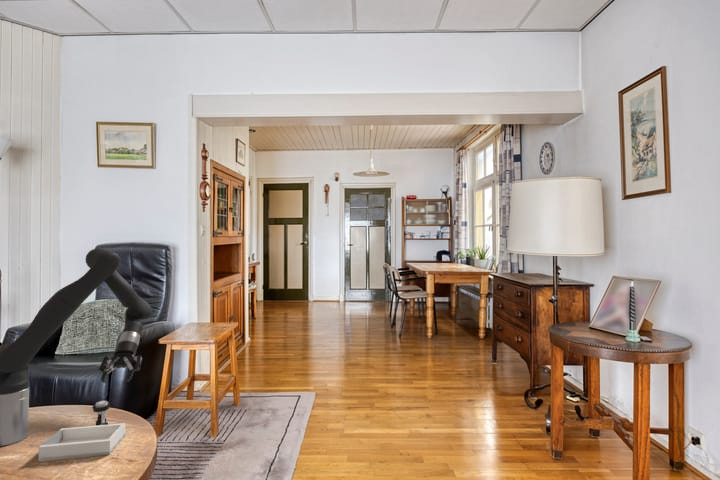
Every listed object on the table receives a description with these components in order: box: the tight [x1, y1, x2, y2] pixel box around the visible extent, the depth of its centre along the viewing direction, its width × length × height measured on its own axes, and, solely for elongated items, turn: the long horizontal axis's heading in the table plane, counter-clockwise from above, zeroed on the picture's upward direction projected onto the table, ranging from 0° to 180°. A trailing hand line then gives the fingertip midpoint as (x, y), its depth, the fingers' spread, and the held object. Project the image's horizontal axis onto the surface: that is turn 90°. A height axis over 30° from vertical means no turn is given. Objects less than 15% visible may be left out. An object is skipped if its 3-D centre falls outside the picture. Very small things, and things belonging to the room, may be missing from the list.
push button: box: [92, 400, 111, 426], centre depth 135 cm, size 7×5×10 cm
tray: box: [37, 422, 126, 462], centre depth 123 cm, size 20×12×4 cm, turn 102°
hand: (115, 381), depth 146 cm, fingers open, 8 cm apart
